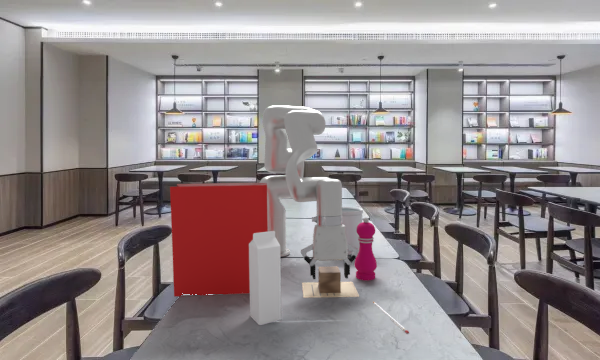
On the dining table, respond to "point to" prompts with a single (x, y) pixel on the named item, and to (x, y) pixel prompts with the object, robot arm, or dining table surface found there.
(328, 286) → the block
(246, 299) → the dining table surface
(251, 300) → the milk
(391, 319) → the pencil
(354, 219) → the utensil holder
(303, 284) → the letter
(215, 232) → the book
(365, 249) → the pepper mill
